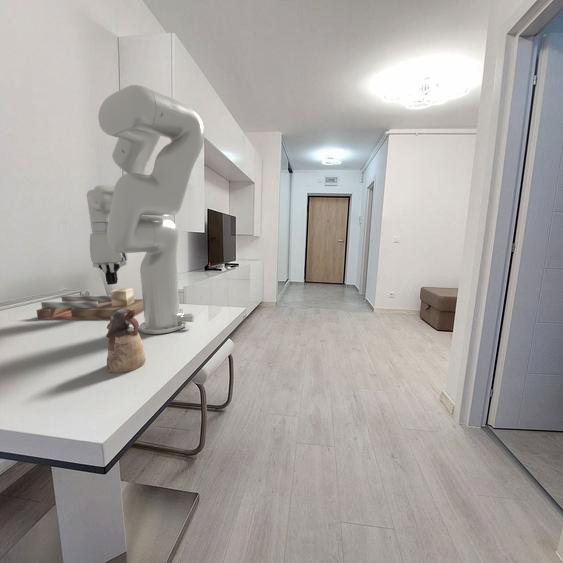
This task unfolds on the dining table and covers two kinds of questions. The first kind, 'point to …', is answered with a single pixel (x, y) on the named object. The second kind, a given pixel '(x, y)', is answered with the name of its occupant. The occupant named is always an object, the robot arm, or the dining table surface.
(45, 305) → the trap deck
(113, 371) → the figurine
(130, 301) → the block
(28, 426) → the dining table surface
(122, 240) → the robot arm
